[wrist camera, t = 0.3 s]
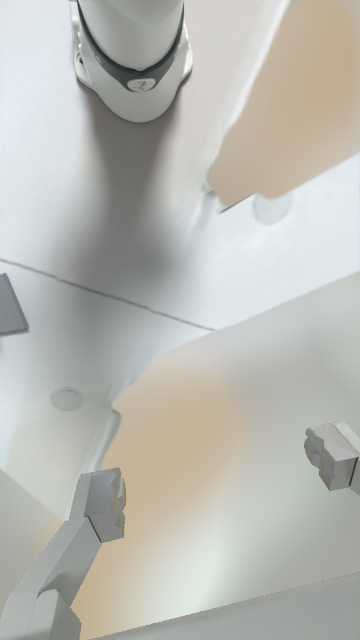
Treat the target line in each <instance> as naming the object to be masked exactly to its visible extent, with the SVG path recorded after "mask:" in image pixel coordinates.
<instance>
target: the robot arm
mask: <svg viewBox="0 0 360 640" xmlns="http://www.w3.org/2000/svg"><path fill="white" fill-rule="evenodd" d="M70 8H71V21H72V35H73V49H74V62H75V71H76V75H77V77H78V79H79V80H80V81H81V82H82V83H83V84H85V85H86V86H88V87H89V88H91V89H92V90H94V91H95V92H96V93H97V94H98V95H99V96H100V98H101V99H102V100H103V102H104V103H105V104H106V105H107V106H108V108H109V109H110V110H112V111H113V112H114V113H115V114H117V115H118V116H120V117H121V118H123V119H126V120H128V121H132V122H147V121H151V120H153V119H156V118H157V117H159V116H160V115H162V114H163V113H164V112H165V111H166V110H167V109H168V107H169V106H170V104H171V103H172V101H173V99H174V97H175V94H176V92H177V89H178V87H179V85H180V83H181V81H182V80H183V79H184V78H185V77H186V76H187V75H188V74H189V73H190V71H191V70H192V67H193V55H192V51H191V46H190V42H189V37H188V33H187V28H186V23H185V19H184V0H70ZM81 60H82V61H83V64H81V63H80V62H81ZM306 435H307V437H308V438H307V439H306V440H305V444H304V448H305V451H306V454H307V457H308V459H309V460H310V462H311V464H312V465H314V466H315V467H317V468H318V469H319V476H320V477H321V479H322V480H323V482H324V483H325V485H326V486H327V488H328V489H329V491H332V490H337V489H343V488H348V487H350V489H351V490H353V491H354V492H355V493H357V494H358V495H359V496H360V439H359V438H358V437H357V435H356V434H355V433H354V432H353V431H352V430H351V429H350V428H349V427H348V426H347V425H346V424H345V423H344V422H342V421H338V422H334V423H330V424H329V423H328V424H323V425H319V426H314V427H310V428H307V429H306ZM120 476H121V471H120V469H119V468H113V469H108V470H102V471H97V472H91V473H86V474H82V475H81V476H80V478H79V480H78V484H77V488H76V492H75V496H74V500H73V504H72V509H71V513H70V517H69V521H65V522H64V523H63V525H62V526H61V527H60V529H59V530H58V532H57V533H56V534H55V535H54V537H53V538H52V539H51V541H50V542H49V543H48V545H47V546H46V548H45V549H44V550H43V552H42V553H41V554H40V556H39V557H38V558H37V560H36V561H35V562H34V564H33V565H32V566H31V568H30V569H29V571H28V572H27V573H26V575H25V576H24V577H23V579H22V580H21V581H20V583H19V584H18V585H17V587H16V588H15V589H14V591H13V592H12V594H11V595H10V596H9V598H8V600H7V603H6V605H5V608H4V611H3V614H2V617H1V620H0V640H79V638H80V630H81V622H80V620H79V618H78V617H77V616H76V615H75V613H74V612H73V611H72V609H71V608H70V606H71V604H72V602H73V600H74V598H75V596H76V594H77V592H78V590H79V588H80V586H81V584H82V582H83V580H84V578H85V576H86V574H87V572H88V571H89V569H90V567H91V565H92V563H93V561H94V559H95V557H96V555H97V553H98V551H99V549H100V547H101V543H104V542H108V541H112V540H116V539H120V538H123V537H124V523H125V517H124V514H123V511H122V510H123V509H124V507H125V505H126V488H125V483H124V480H123V479H122V478H121V477H120ZM90 640H360V572H357V573H353V574H349V575H346V576H341V577H337V578H333V579H330V580H326V581H321V582H318V583H314V584H310V585H306V586H302V587H298V588H294V589H290V590H286V591H282V592H278V593H274V594H270V595H266V596H262V597H258V598H254V599H250V600H246V601H242V602H238V603H234V604H230V605H226V606H222V607H218V608H214V609H210V610H206V611H202V612H198V613H194V614H190V615H186V616H182V617H178V618H174V619H170V620H166V621H162V622H158V623H154V624H150V625H146V626H142V627H138V628H134V629H130V630H126V631H122V632H118V633H114V634H111V635H106V636H102V637H98V638H94V639H90Z"/></svg>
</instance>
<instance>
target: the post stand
mask: <svg viewBox="0 0 360 640" xmlns="http://www.w3.org/2000/svg"><path fill="white" fill-rule="evenodd" d="M27 327H28V324H27V321H26V319H25V317H24V314H23V312H22V310H21V307H20V305H19V303H18V300H17V298H16V295H15V293H14V291H13V288H12V286H11V284H10V281H9V279H8V277H7V274H6V273H4V274H0V333H3V332H9V331H15V330H21V329H26V328H27Z"/></svg>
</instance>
